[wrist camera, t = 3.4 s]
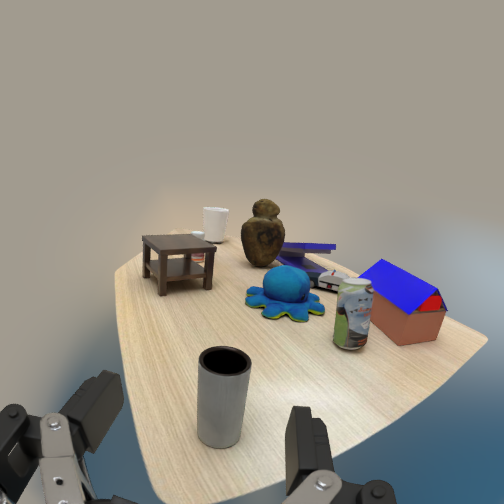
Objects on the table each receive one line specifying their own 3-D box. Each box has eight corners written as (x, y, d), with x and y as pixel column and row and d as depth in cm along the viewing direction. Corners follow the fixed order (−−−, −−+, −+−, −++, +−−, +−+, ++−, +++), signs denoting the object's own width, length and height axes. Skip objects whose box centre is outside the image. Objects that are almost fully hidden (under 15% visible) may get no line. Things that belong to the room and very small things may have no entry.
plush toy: (245, 285, 70) (249, 252, 68) (314, 292, 71) (320, 260, 69) (243, 317, 54) (249, 275, 52) (330, 324, 55) (339, 285, 53)
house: (388, 303, 68) (399, 260, 66) (437, 340, 49) (455, 288, 47) (350, 304, 66) (361, 257, 63) (397, 346, 47) (416, 288, 44)
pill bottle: (206, 262, 85) (208, 234, 83) (191, 263, 82) (193, 234, 80) (199, 257, 89) (201, 230, 87) (185, 258, 86) (187, 230, 84)
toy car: (302, 280, 80) (305, 262, 78) (358, 293, 74) (363, 275, 73) (297, 285, 75) (301, 266, 74) (357, 299, 69) (362, 280, 68)
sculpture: (276, 263, 93) (284, 200, 88) (283, 271, 85) (293, 203, 81) (234, 260, 90) (242, 195, 86) (239, 269, 82) (247, 198, 78)
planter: (233, 416, 29) (242, 344, 26) (245, 445, 25) (259, 373, 22) (193, 420, 27) (194, 346, 25) (201, 451, 23) (204, 377, 21)
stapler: (303, 278, 81) (309, 244, 79) (264, 251, 106) (267, 225, 104) (335, 277, 85) (341, 245, 83) (291, 252, 110) (295, 226, 108)
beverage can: (357, 358, 43) (377, 291, 40) (319, 342, 47) (334, 277, 45) (369, 344, 48) (387, 282, 45) (334, 330, 52) (349, 270, 49)
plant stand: (159, 297, 57) (160, 249, 55) (141, 275, 67) (142, 235, 65) (213, 289, 65) (216, 246, 63) (188, 271, 75) (190, 233, 73)
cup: (196, 238, 113) (199, 206, 110) (219, 238, 118) (222, 207, 115) (206, 245, 105) (209, 210, 102) (230, 244, 110) (233, 211, 107)
